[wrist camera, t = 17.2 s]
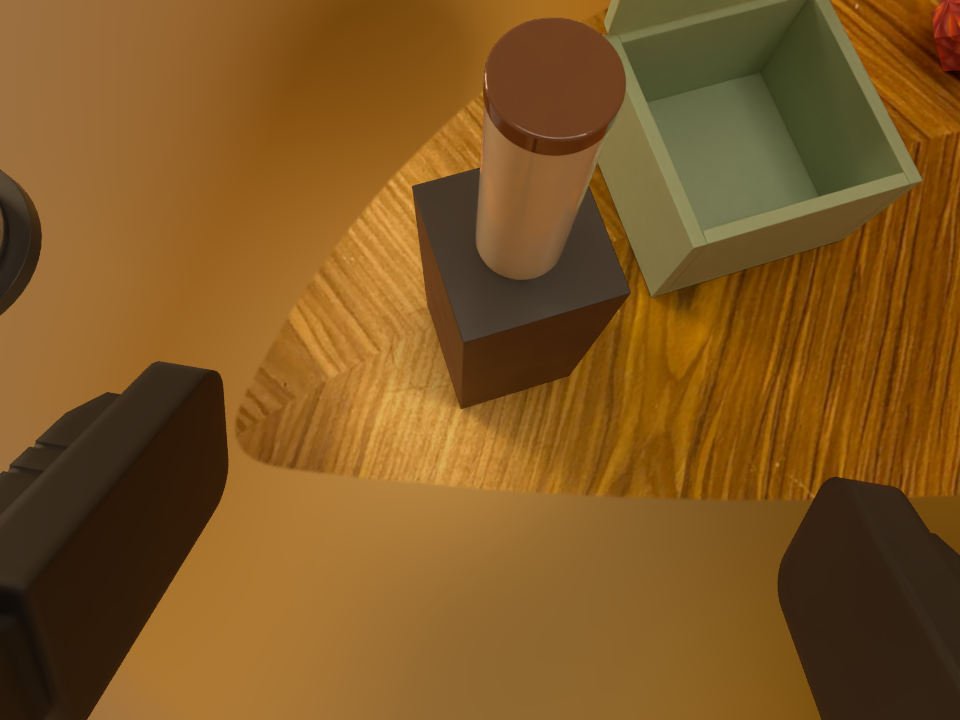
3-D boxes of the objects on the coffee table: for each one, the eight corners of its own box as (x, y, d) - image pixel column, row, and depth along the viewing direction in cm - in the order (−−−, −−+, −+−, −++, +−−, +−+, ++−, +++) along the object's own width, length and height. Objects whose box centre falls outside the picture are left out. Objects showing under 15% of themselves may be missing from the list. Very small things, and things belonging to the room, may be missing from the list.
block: (460, 409, 40) (463, 343, 26) (427, 303, 42) (411, 185, 27) (569, 375, 41) (631, 292, 27) (532, 273, 43) (572, 141, 28)
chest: (843, 239, 44) (923, 180, 36) (651, 297, 43) (693, 248, 35) (760, 67, 47) (819, -20, 39) (579, 116, 46) (603, 34, 38)
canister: (490, 292, 26) (510, 156, 17) (462, 210, 27) (465, 34, 17) (578, 267, 27) (648, 119, 17) (548, 186, 28) (598, 1, 18)
